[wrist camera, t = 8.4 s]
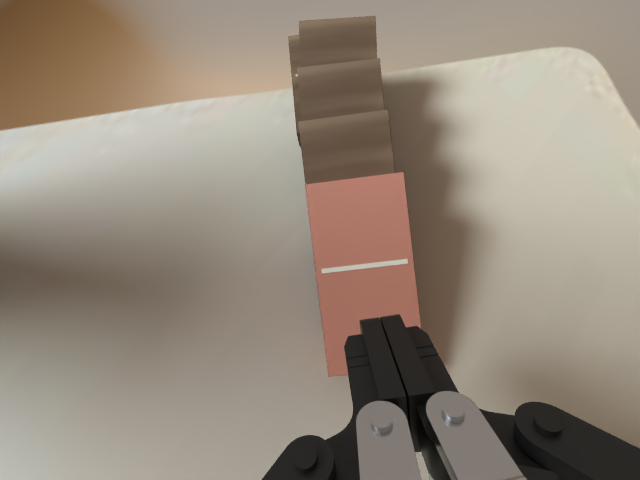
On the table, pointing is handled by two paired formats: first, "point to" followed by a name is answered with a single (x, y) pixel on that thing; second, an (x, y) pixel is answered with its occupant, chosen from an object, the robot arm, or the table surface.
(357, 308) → the domino
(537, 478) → the robot arm
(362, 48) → the domino
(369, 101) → the domino
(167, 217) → the table surface
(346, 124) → the domino
